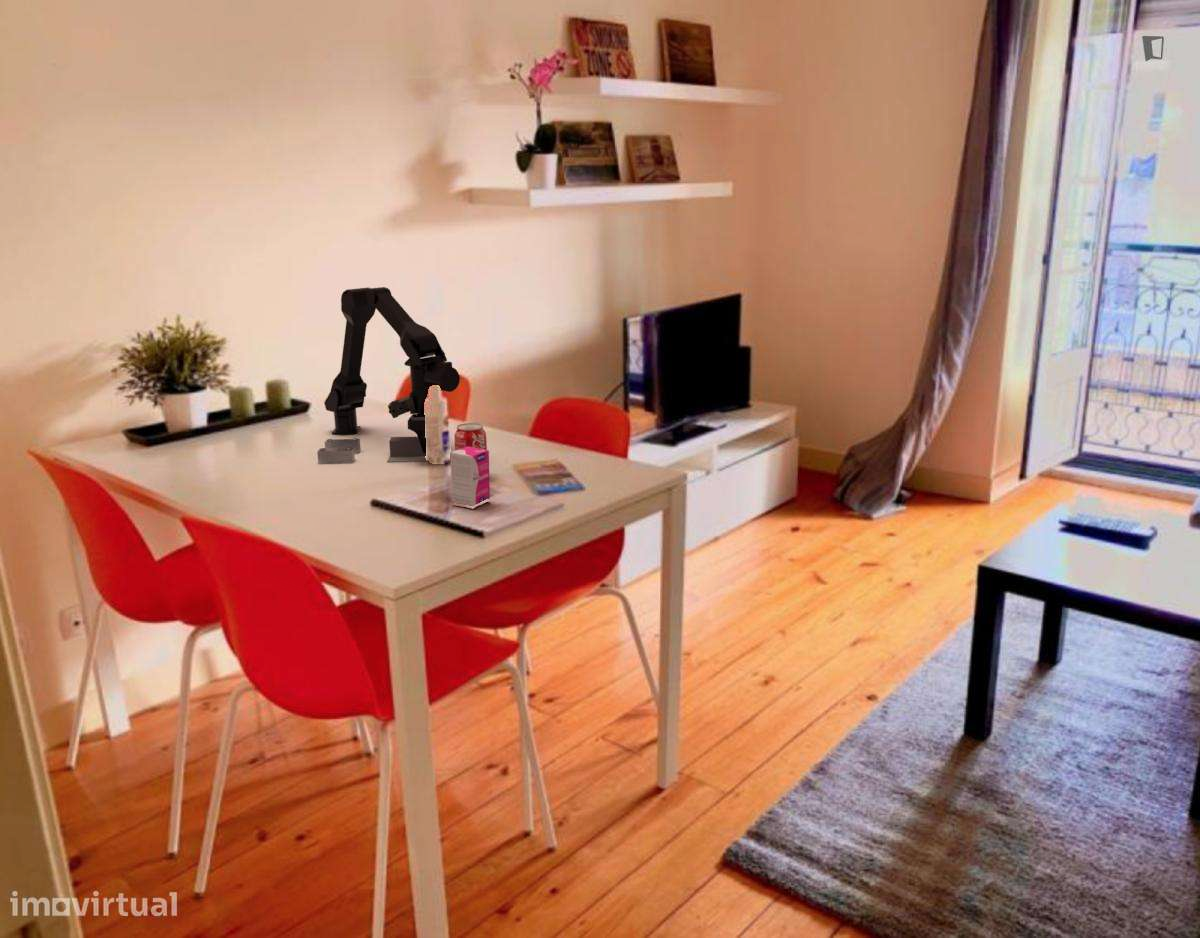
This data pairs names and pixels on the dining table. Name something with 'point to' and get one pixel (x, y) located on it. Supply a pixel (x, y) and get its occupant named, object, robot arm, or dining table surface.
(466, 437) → the soda can
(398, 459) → the mat
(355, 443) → the housing
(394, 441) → the grey orange block
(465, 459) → the supplement box
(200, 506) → the dining table surface
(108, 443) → the dining table surface
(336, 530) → the dining table surface
